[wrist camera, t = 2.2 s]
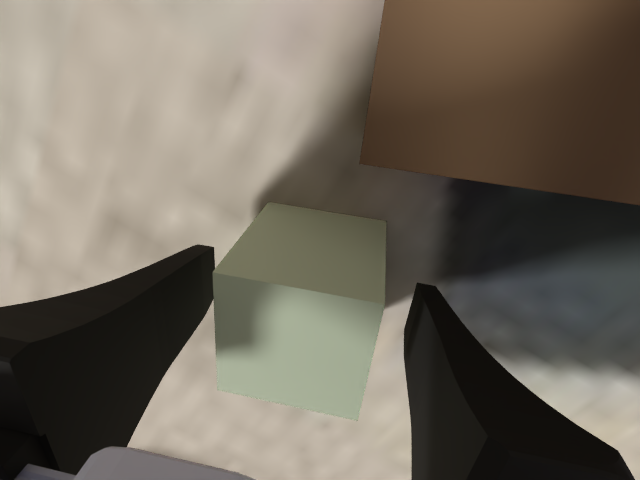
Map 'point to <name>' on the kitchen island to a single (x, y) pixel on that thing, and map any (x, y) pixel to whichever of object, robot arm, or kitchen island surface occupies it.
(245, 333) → the block
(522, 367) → the kitchen island surface
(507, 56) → the plinth
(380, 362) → the kitchen island surface
